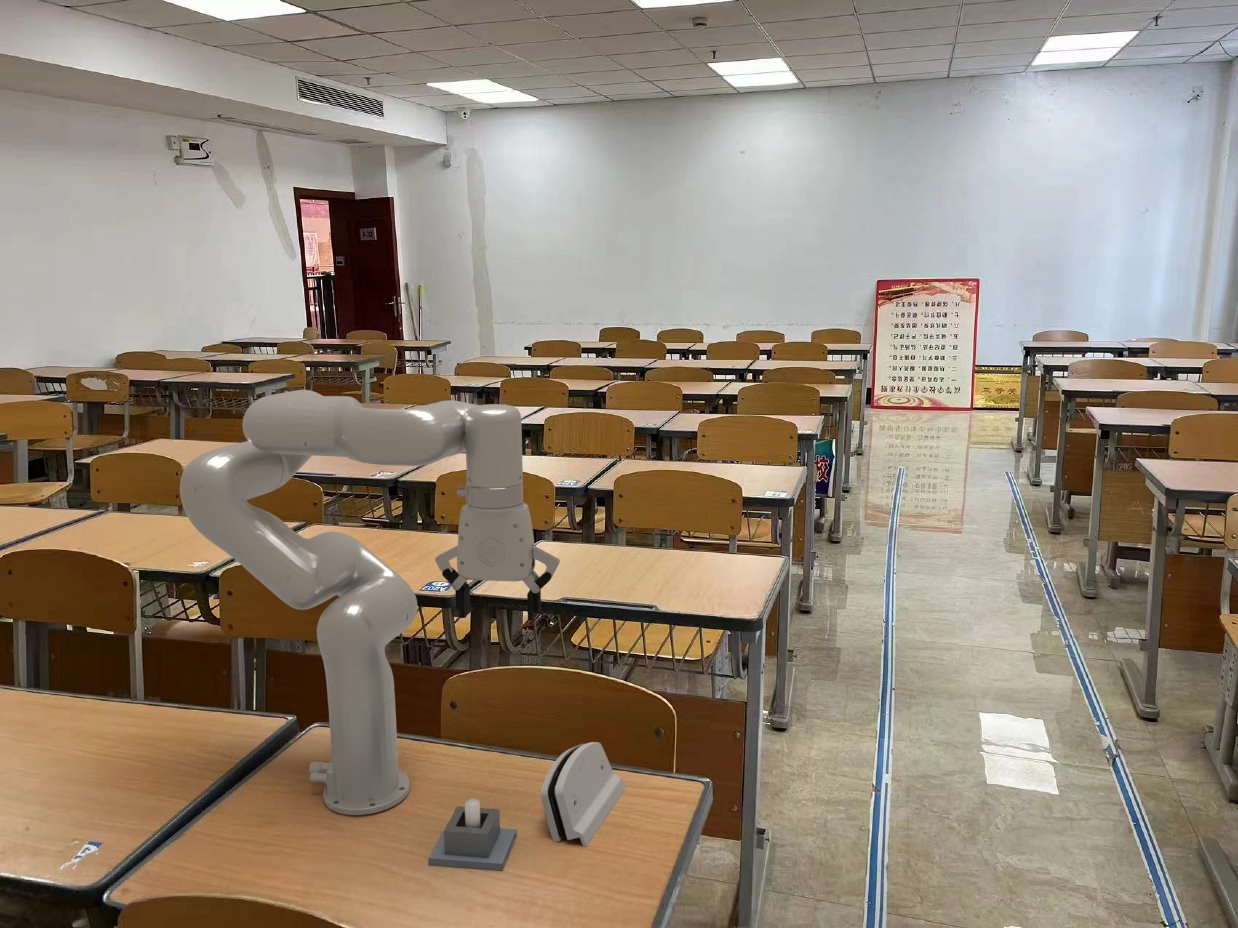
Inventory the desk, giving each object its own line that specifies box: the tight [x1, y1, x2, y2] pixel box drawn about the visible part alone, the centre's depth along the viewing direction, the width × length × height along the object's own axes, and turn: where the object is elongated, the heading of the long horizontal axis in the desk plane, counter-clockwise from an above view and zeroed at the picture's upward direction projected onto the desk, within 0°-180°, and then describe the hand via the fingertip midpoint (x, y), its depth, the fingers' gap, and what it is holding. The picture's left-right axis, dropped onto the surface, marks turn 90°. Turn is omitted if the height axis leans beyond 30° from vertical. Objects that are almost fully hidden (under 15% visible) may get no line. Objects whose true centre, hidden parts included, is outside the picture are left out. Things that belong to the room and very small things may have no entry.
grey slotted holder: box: [540, 741, 626, 848], centre depth 136 cm, size 17×5×10 cm, turn 160°
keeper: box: [428, 798, 518, 872], centre depth 126 cm, size 10×8×7 cm
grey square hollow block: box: [443, 805, 501, 858], centre depth 127 cm, size 6×6×4 cm
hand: (498, 615), depth 130 cm, fingers open, 9 cm apart
